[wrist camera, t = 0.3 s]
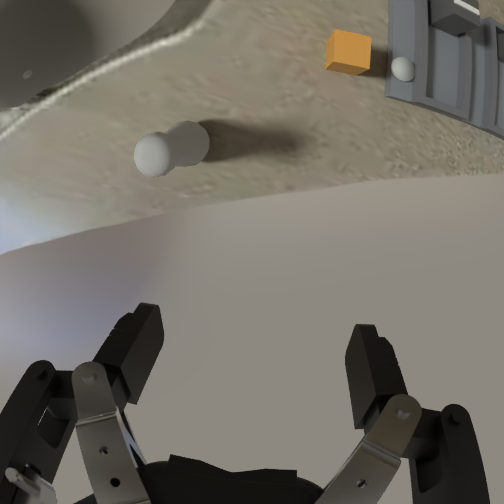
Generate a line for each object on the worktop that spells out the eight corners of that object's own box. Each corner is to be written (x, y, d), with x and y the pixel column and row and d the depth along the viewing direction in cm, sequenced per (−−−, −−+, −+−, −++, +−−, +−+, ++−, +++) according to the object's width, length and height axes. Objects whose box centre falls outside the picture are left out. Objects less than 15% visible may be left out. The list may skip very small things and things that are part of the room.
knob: (427, 1, 21) (452, -14, 15) (452, 12, 21) (478, 0, 14) (428, 24, 23) (454, 12, 16) (453, 35, 23) (481, 26, 16)
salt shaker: (222, 139, 35) (194, 153, 24) (194, 171, 38) (156, 200, 26) (189, 111, 34) (146, 113, 22) (163, 144, 36) (113, 161, 25)
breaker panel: (386, -17, 22) (396, -27, 19) (522, 51, 21) (536, 50, 17) (383, 96, 30) (393, 94, 27) (518, 147, 29) (533, 152, 26)
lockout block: (327, 41, 28) (335, 29, 23) (358, 47, 28) (371, 37, 23) (325, 69, 30) (333, 61, 25) (356, 75, 30) (369, 69, 24)
